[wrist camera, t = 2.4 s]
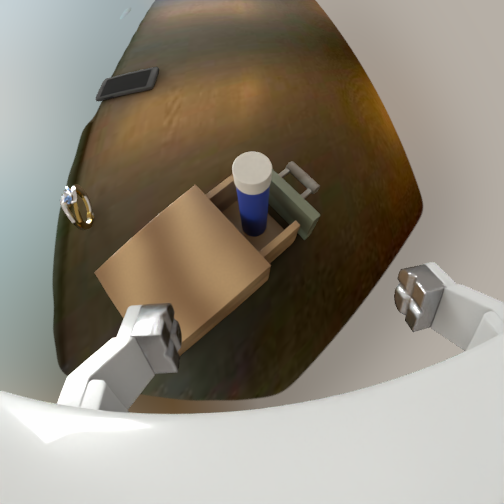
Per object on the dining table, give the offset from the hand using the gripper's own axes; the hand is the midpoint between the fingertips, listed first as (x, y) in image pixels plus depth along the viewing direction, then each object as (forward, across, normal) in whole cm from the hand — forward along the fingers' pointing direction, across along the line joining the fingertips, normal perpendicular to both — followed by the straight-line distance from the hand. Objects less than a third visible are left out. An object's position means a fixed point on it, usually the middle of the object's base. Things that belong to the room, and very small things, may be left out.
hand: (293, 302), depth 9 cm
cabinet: (+24, -9, -15) cm, 29 cm away
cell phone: (+54, -22, +16) cm, 61 cm away
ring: (+33, -25, -6) cm, 42 cm away
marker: (+27, 0, -9) cm, 28 cm away
